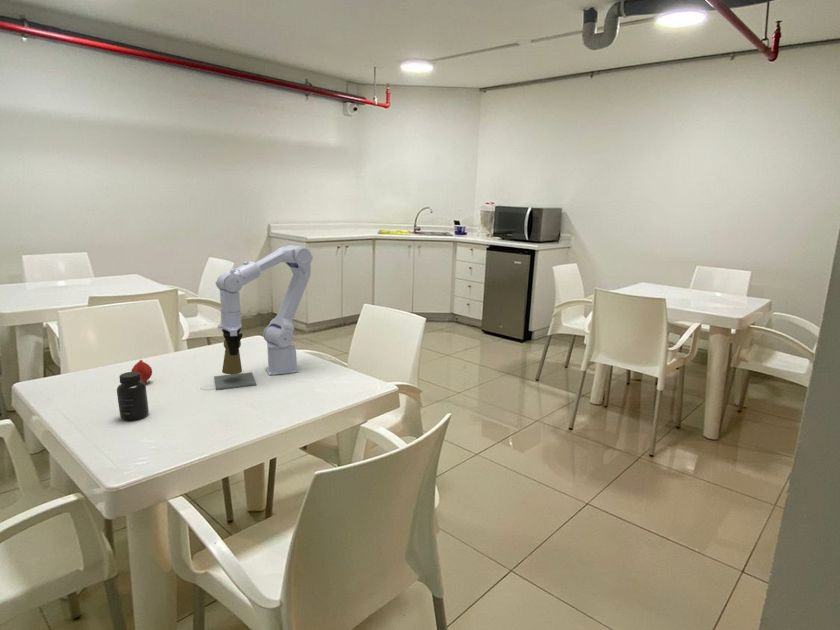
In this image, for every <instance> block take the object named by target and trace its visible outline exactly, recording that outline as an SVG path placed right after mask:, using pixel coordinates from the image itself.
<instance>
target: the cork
mask: <svg viewBox="0 0 840 630" xmlns="http://www.w3.org/2000/svg"><path fill="white" fill-rule="evenodd" d="M241 346H242V342H241V340H240V343H239V349H238V354H237V355H232V356H231V355H230V352H229V348H228V344H227V342H226V340H225V339H224V341H223V347H224V355H223V363H222V373H223V374H224V375H231V374H240V373H243V368H242V361H241V354H240V348H241Z"/></svg>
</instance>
